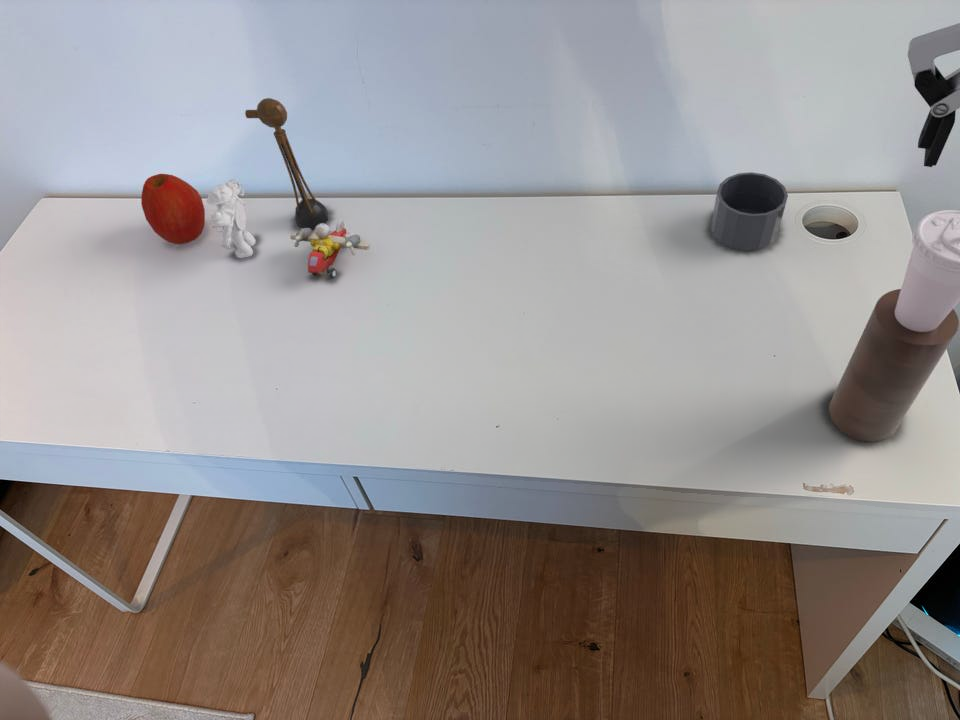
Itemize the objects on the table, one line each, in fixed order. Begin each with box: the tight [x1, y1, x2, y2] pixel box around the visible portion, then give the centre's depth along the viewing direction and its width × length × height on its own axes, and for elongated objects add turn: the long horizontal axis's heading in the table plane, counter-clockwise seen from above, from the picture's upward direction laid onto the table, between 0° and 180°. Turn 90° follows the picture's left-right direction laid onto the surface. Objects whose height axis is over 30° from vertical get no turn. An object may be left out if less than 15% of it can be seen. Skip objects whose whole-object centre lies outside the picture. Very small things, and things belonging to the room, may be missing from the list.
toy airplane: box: [289, 218, 371, 279], centre depth 100 cm, size 9×9×6 cm
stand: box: [828, 288, 960, 443], centre depth 71 cm, size 7×7×16 cm
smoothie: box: [895, 209, 960, 332], centre depth 60 cm, size 6×6×14 cm
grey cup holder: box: [710, 171, 789, 252], centre depth 94 cm, size 8×8×6 cm
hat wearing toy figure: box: [206, 178, 257, 259], centre depth 101 cm, size 9×4×12 cm, turn 178°
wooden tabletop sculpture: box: [244, 97, 329, 231], centre depth 100 cm, size 6×5×20 cm
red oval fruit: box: [140, 173, 206, 245], centre depth 105 cm, size 8×8×11 cm
